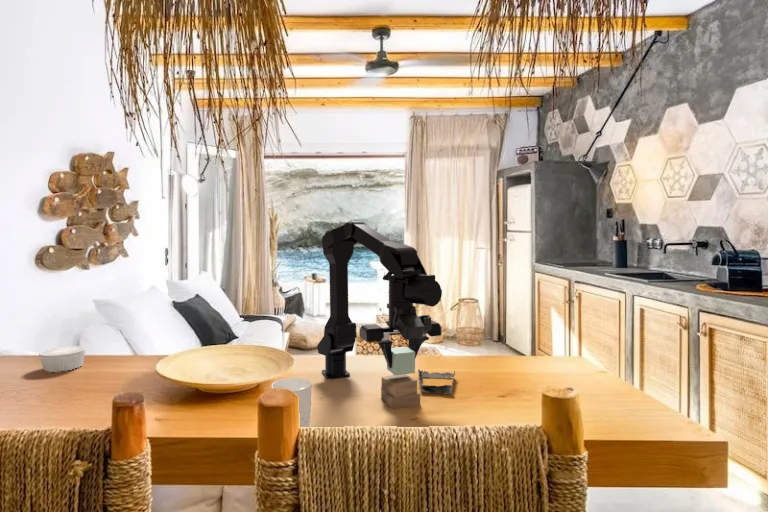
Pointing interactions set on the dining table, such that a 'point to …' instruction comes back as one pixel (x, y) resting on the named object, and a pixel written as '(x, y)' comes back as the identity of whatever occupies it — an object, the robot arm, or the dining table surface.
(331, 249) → the robot arm
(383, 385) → the slab top
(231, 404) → the dining table surface
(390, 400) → the slab base
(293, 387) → the white cup
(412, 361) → the sage cube
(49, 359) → the ramekin
